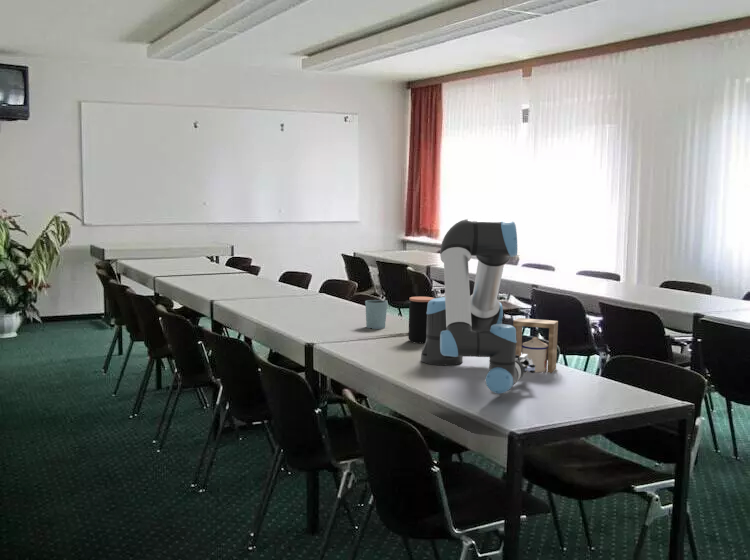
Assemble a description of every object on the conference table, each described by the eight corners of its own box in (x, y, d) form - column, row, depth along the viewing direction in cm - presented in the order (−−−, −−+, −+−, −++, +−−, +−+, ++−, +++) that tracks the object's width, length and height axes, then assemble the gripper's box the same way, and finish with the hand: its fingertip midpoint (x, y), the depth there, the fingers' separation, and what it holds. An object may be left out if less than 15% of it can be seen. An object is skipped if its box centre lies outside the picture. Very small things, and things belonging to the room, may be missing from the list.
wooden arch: (511, 369, 278) (513, 320, 276) (516, 364, 285) (518, 317, 284) (551, 373, 273) (553, 324, 271) (556, 368, 280) (558, 320, 278)
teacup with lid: (550, 373, 273) (552, 339, 272) (524, 373, 272) (526, 339, 271) (540, 365, 285) (542, 333, 284) (515, 365, 284) (517, 333, 283)
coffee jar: (438, 340, 329) (439, 297, 328) (426, 344, 320) (427, 300, 319) (416, 338, 335) (417, 295, 333) (403, 341, 326) (404, 298, 324)
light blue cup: (362, 328, 356) (363, 302, 355) (366, 325, 366) (367, 299, 365) (385, 329, 355) (385, 303, 353) (388, 326, 365) (389, 300, 363)
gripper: (488, 381, 245) (505, 366, 267) (530, 385, 240) (544, 370, 262) (488, 357, 244) (506, 344, 266) (531, 361, 239) (545, 348, 261)
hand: (525, 357), depth 264 cm, fingers closed
